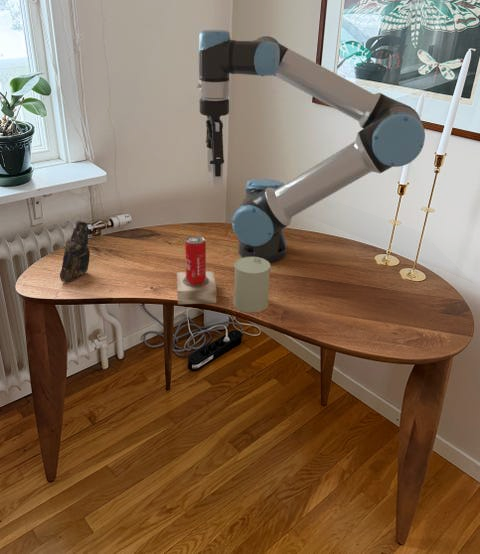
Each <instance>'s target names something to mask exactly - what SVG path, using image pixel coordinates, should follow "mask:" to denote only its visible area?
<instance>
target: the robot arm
mask: <svg viewBox="0 0 480 554" xmlns="http://www.w3.org/2000/svg"><path fill="white" fill-rule="evenodd" d="M197 53H198V75H199V77H198V78H199V80H198V81H199V83H197V84H196V88H197V89H199V96H200V98H199V114H201V115H202V116H204V117H205V116H206V121H205V125H206V139H205V143H206V147H207V148H206V172H207V173H211V188H212V189H223V187H224V185H223V184H224V182H223V180H224V179H223V176H224V174H223V173H224V169H223V168H224V164H225V159H224V157H225V156H224V140H223V127H224V124H223V122H222V120H221V117H222V116H223V117H225V116H227V115H229V112H230V99H229V97H230V83H231V81H230V74H232V75H246V76H248V75H249V76H260V77H266V76H267V77H268V76H269V77H271V76H274V77H276V78H278V79H279V80H281V81H283V82H285V83H287V84H288V85H291V86H292V87H294V88H296V89H298V90H300V91H301V92H304V93H306V94H307V95H310V96H311V97H313V98H315V99H317V100H318V101H320V102H322V103H324V104H326V105H328V106H329V107H331V108H333V109H334V110H335V109H336V110H337V111H339V112H341V113H343V114H345V116H348V117H350V118H352V119H354V120H356V121H358V124H359V128H362V129H361V130H360V131H358V132H357V134H356V138H355V140H354V141H353V142H351V143H350V144H348V145H346V146H344V147H343V148H342V149H340V150H339V151H337V152H335V153H334V154H332V155H330V156H328V157H327V158H325V159H323V160H322V161H321V162H319V163H317V164H315V165H313V166H312V167H310V168H309V169H307V170H305V171H304V172H302V173H300V174H299V175H297V176H296V177H294V178H292V179H291V180H288V181H287V182H285V183H284V182H282V181H280V180H277V179H270V178H254V179H249V180H247V182H246V187H245V190H246V191H245V197H244V199H243V200H242V202H241V203H240V205H239V207H238V208H236V210H235V211H234V214H233V217H232V220H231V221H232V222H231V227H232V231H233V233H234V235H235V237H237V239H238V240H239V242H238V254H239V255H240V256H241V258H244V257H259V258H263V259H265V260H267V261H268V262H269V263H273V262H278V261H280V260H283V259H284V258H285V257H286V256H287V253H288V252H287V251H288V246H287V240H286V238H285V234H284V229H285V228H287V227H288V226H290V225H291V222H292V218H293V217H295V216H296V215H298V214H300V213H301V212H303V211H305V210H307V209H309V208H311V207H312V206H314V205H316V204H318V203H319V202H320V201H323V200H324V199H326V198H328V197H330V196H332V195H333V194H335V193H336V192H338V191H340V190H342V189H344V188H345V187H347V186H349V185H350V184H353V183H354V182H356V181H358V180H359V179H361V178H363V177H365V176H366V175H368V174H370V173H377V174H382V173H384V172H386V171H388V170H389V169H392V168H394V167H398V168H399V167H403V166H406V165H408V164H410V163H411V162H413V161H414V160H416V158H417V157H418V156H419V155H420V153H421V152H422V150H423V148H424V144H425V140H426V132H425V127H424V125H423V123H422V119H421V118H420V115H419V113H418V112H417V111H416V110H415V109H414V108H412V107H411V106H409V105H407V104H405V103H403V102H400V101H398V100H396V99H393V98H392V97H389V96H387V95H385V94H384V93H382V92H377V93H372V92H371V91H368V90H367V89H365V88H363V87H361V86H359V85H357V84H356V83H354V82H352V81H350V80H349V79H346V78H344V77H342V76H341V75H339V74H338V73H337V74H336V72H333V71H331V70H330V69H327V68H326V67H324V66H322V65H320V64H318V63H317V62H315V61H313V60H311V59H309V58H307V57H305V56H304V55H302V54H300V53H298V52H296V51H294V50H293V49H291V48H288V47H286V46H285V45H283V44H282V43H279V41H278V40H277V39H275V38H274V37H273V36H269V35H266V36H264V35H263V36H261V37H259V38H257V39H254V40H235V39H232V38H231V33H230V31H228V30H221V29H205V30H202V31H200V33H199V35H198V50H197Z"/></svg>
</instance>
